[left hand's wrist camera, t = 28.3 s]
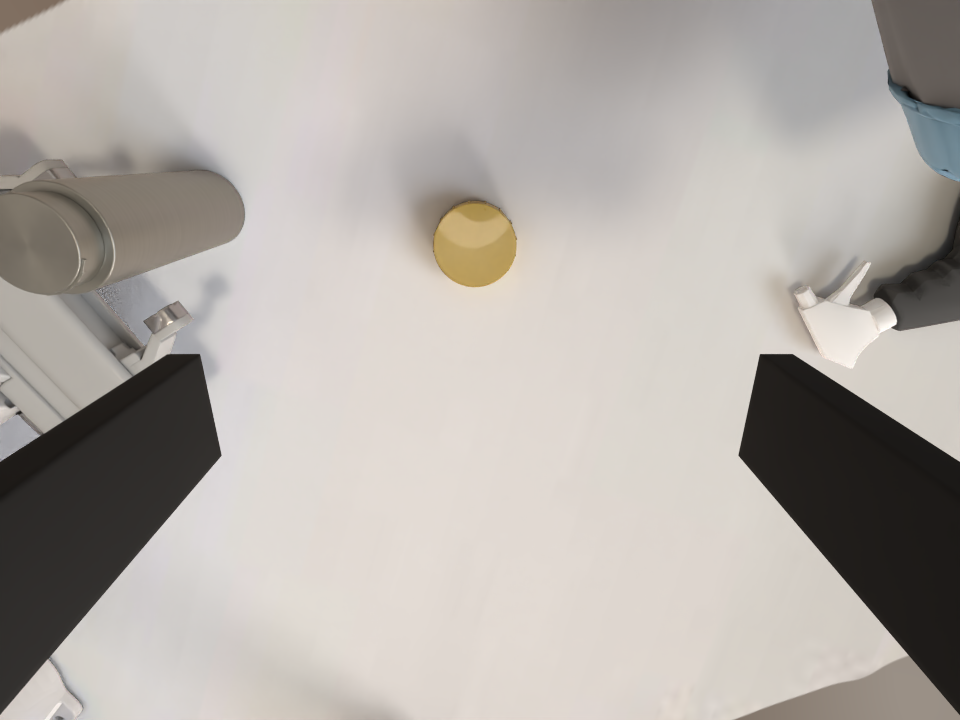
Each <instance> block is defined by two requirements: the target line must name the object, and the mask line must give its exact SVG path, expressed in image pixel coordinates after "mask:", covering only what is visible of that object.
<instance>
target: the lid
mask: <svg viewBox="0 0 960 720" xmlns="http://www.w3.org/2000/svg"><path fill="white" fill-rule="evenodd" d="M440 220H441V221H440V223H439V225H438V227H437V229H436V231H435V233H434V242H433V247H434V250H433V252H434V255H435V258H436V261H437V263H438V265H439V267H440V268H441V270H442V271H443V272H444V274H445V275H446V276H448V277H449V278H450V279H451V280H453V281H454V282H456V283H458V284H461V285H464V286H468V287H482V286H486V285H489V284H492V283H494V282H496V281H497V280H499V279H500V278H501V277H503V276H504V275H505V274H506V272H507V271H508V270H509V268H510V267H511V265H512V263H513V261H514V258H515V256H516V240H517V238H516V236H515V233H514V230H513V228H512V225H511V224H512V223H511V221H509V220H508V218H507V217H506V215H505V214H504V213H503V212H502V211H501V209H500V208H499V209H498V208H497V207H495V206H493V205H491V204H489V203H486V201H484V202H481V201H470V200H468V202H464V203H461V204H459V205H457V206H453V207H452V209H451V210H449V211H448V212H447V213H446V214H445V215H444V217H441V219H440Z"/></svg>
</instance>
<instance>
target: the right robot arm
mask: <svg viewBox="0 0 960 720" xmlns="http://www.w3.org/2000/svg"><path fill="white" fill-rule="evenodd" d="M65 178H77V177H76V176H75V175H74V174H73V172H72V171H71V170H70V169H69V168H68V167H67V165H66V164H65V163H64V162H63V160H44V161H41V162H39V163H37V164H35V165H34V166H33V167H31V168H30V169H29V170H27V171H26V172H25V173H24V174H22V175H0V195H1V194H5V193H7V192H9V191H11V190H12V189H14V188H15V187H17V186H18V185H20V184H22V183H25V182H29V181H34V180H49V179H65ZM193 320H194V319H193V318H192V316H191V315H190V314H189V313H188V312H187V311H186V309H185V308H184V307H183V306H182V305H181V303H180V302H179V301H176V302H175V303H173V304H170V305H168V306H166V307H165V308H163V309H161V310H160V311H158V312H157V313H156V314H154V315H152V316H151V317H149V318H148V319H146V320H145V321H143V322H144V323H145V324H146V325H147V326H148V328H149V329H150V330H151V331H152V332H153V333H152V334H151V336H150V339H149V342H148V344H147V345H146V346H144V345H143V344H142V343H141V342H140V340H139V339H138V338H137V337H136V336H135V335H134V334H133V333H132V331H131V330H130V329H129V328H128V327H127V326H126V325H125V323H124V322H123V321H122V320H121V319H120V318H119V317H118V316H117V314H116V313H115V312H114V311H113V310H112V309H111V308H110V306H109V305H108V304H107V303H106V302H105V301H104V300H103V299H102V297H101V296H100V295H99V294H98V293H97V292H96V291H95V290H94V291H91V292H88V293H83V294H64V293H63V294H60V295H50V296H47V295H41V294H34V293H31V292H27V291H24V290H21V289H19V288H17V287H15V286H13V285H11V284H10V283H8V282H7V281H5V280H4V279H3V278H1V277H0V425H1V424H3V423H4V422H6V421H7V420H9V419H10V418H12V417H13V416H15V415H17V414H18V415H19V416H20V417H21V418H22V419H23V420H24V421H25V422H26V423H27V424H28V425H29V426H30V427H31V428H32V429H33V430H34V431H35V432H37V433H38V434H39V435H43V434H44V433H46V432H47V431H49V430H51V429H52V428H54V427H55V426H57V425H58V424H60V423H61V422H63V421H64V420H66V419H68V418H69V417H71V416H72V415H74V414H75V413H77V412H78V411H80V410H82V409H83V408H85V407H86V406H88V405H89V404H91V403H92V402H94V401H96V400H97V399H99V398H100V397H102V396H103V395H105V394H106V393H108V392H109V391H111V390H113V389H114V388H116V387H117V386H119V385H120V384H122V383H123V382H125V381H127V380H128V379H130V378H131V377H133V376H134V375H136V374H137V373H139V372H140V371H142V370H144V369H145V368H147V367H148V366H150V365H151V364H153V363H154V362H156V361H158V360H159V359H161V358H162V357H164V356H165V355H167V354H170V353H171V350H172V347H173V344H174V341H175V338H176V335H177V333H176V332H177V331H178V330H180V329H181V328H183V327H184V326H186V325H187V324H189V323H190V322H192V321H193ZM82 709H83V708H82V705H81V704H80V702H79V701H78V700H77V699H76V698H75V697H74V696H73V695H72V694H71V693H70V692H69V691H67V689H66V688H65V686H64V684H63V682H62V679H61V677H60V675H59V673H58V671H57V669H56V668H55V667H54V665H53V664H52V663H51V662H50V660H49V659H48V660H47V661H46V662H45V663H44V664H43V665H42V667H41V668H40V669H39V670H38V671H37V672H36V674H35V675H34V676H33V677H32V678H31V679H30V681H29V682H28V683H27V684H26V685H25V687H24V688H23V689H22V690H21V691H20V692H19V694H18V695H17V696H16V697H15V698H14V699H13V701H12V702H11V703H10V704H9V705H8V706H7V708H6V709H5V710H4V711H3V712H2V713H1V715H0V720H75V719H76V718H77V716H78V715H79V714H80V713H81V712H82Z"/></svg>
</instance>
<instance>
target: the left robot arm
mask: <svg viewBox="0 0 960 720" xmlns="http://www.w3.org/2000/svg"><path fill="white" fill-rule="evenodd" d="M872 4H873V8H874V12H875V16H876V20H877V24H878V27H879V31H880V35H881V39H882V43H883V47H884V51H885V55H886V58H887V62H888V66H889V70H888V85H889V90H890V91H891V93H892V95H893V96H894V97H895V99H896V100H897V101H898V102H899V103H900V104H901V105H902V108H903V111H904V113H905V116H906V118H907V121H908V124H909V127H910V130H911V133H912V136H913V139H914V142H915V145H916V147H917V150H918V152H919V154H920V156H921V157H922V158H923V160H924V161H925V162H926V164H927V165H929V166H930V167H931V168H932V169H933V170H934V171H936V172H937V173H939V174H940V175H943V176H945V177H947V178H950V179H952V180H955V181H960V0H872ZM221 456H222V455H221V451H220V446H219V441H218V437H217V432H216V427H215V423H214V418H213V413H212V408H211V404H210V399H209V394H208V390H207V385H206V380H205V376H204V371H203V366H202V361H201V357H200V354H167V355H165V356H164V357H162V358H161V359H159V360H158V361H156V362H154V363H153V364H151V365H150V366H148V367H147V368H145V369H144V370H142V371H140V372H139V373H137V374H136V375H134V376H133V377H131V378H130V379H128V380H127V381H125V382H123V383H122V384H120V385H119V386H117V387H116V388H114V389H113V390H111V391H109V392H108V393H106V394H105V395H103V396H102V397H100V398H99V399H97V400H96V401H94V402H92V403H91V404H89V405H88V406H86V407H85V408H83V409H82V410H80V411H78V412H77V413H75V414H74V415H72V416H71V417H69V418H68V419H66V420H64V421H63V422H61V423H60V424H58V425H57V426H55V427H54V428H52V429H51V430H49V431H47V432H46V433H44V434H43V435H41V436H40V437H38V438H37V439H35V440H33V441H32V442H30V443H29V444H27V445H26V446H24V447H23V448H21V449H20V450H18V451H16V452H15V453H13V454H12V455H10V456H9V457H7V458H6V459H4V460H2V461H1V462H0V715H1V713H2V712H3V711H4V710H5V709H6V708H7V706H8V705H9V704H10V703H11V702H12V701H13V699H14V698H15V697H16V696H17V695H18V694H19V692H20V691H21V690H22V689H23V688H24V687H25V685H26V684H27V683H28V682H29V681H30V679H31V678H32V677H33V676H34V675H35V674H36V672H37V671H38V670H39V669H40V668H41V667H42V665H43V664H44V663H45V662H46V661H47V660H48V658H49V657H50V656H51V655H52V654H53V653H54V651H55V650H56V649H57V648H58V647H59V645H60V644H61V643H62V642H63V641H64V640H65V638H66V637H67V636H68V635H69V634H70V633H71V631H72V630H73V629H74V628H75V627H76V626H77V624H78V623H79V622H80V621H81V620H82V619H83V617H84V616H85V615H86V614H87V613H88V611H89V610H90V609H91V608H92V607H93V606H94V604H95V603H96V602H97V601H98V600H99V599H100V597H101V596H102V595H103V594H104V593H105V592H106V590H107V589H108V588H109V587H110V586H111V585H112V583H113V582H114V581H115V580H116V579H117V578H118V576H119V575H120V574H121V573H122V572H123V570H124V569H125V568H126V567H127V566H128V565H129V563H130V562H131V561H132V560H133V559H134V558H135V556H136V555H137V554H138V553H139V552H140V551H141V549H142V548H143V547H144V546H145V545H146V544H147V542H148V541H149V540H150V539H151V538H152V536H153V535H154V534H155V533H156V532H157V531H158V529H159V528H160V527H161V526H162V525H163V524H164V522H165V521H166V520H167V519H168V518H169V517H170V515H171V514H172V513H173V512H174V511H175V510H176V508H177V507H178V506H179V505H180V504H181V502H182V501H183V500H184V499H185V498H186V497H187V495H188V494H189V493H190V492H191V491H192V490H193V488H194V487H195V486H196V485H197V484H198V483H199V481H200V480H201V479H202V478H203V477H204V476H205V474H206V473H207V472H208V471H209V470H210V468H211V467H212V466H213V465H214V464H215V463H216V461H217V460H218V459H219V458H220V457H221ZM738 456H739V457H740V458H741V459H742V460H743V461H744V463H745V464H746V465H747V466H748V467H749V468H750V470H751V471H752V472H753V473H754V474H755V476H756V477H757V478H758V479H759V480H760V481H761V483H762V484H763V485H764V486H765V487H766V488H767V490H768V491H769V492H770V493H771V494H772V495H773V497H774V498H775V499H776V500H777V501H778V502H779V504H780V505H781V506H782V507H783V508H784V510H785V511H786V512H787V513H788V514H789V515H790V517H791V518H792V519H793V520H794V521H795V522H796V524H797V525H798V526H799V527H800V528H801V529H802V531H803V532H804V533H805V534H806V535H807V536H808V538H809V539H810V540H811V541H812V542H813V544H814V545H815V546H816V547H817V548H818V549H819V551H820V552H821V553H822V554H823V555H824V556H825V558H826V559H827V560H828V561H829V562H830V563H831V565H832V566H833V567H834V568H835V569H836V570H837V572H838V573H839V574H840V575H841V576H842V578H843V579H844V580H845V581H846V582H847V583H848V585H849V586H850V587H851V588H852V589H853V590H854V592H855V593H856V594H857V595H858V596H859V597H860V599H861V600H862V601H863V602H864V603H865V604H866V606H867V607H868V608H869V609H870V610H871V611H872V613H873V614H874V615H875V616H876V617H877V619H878V620H879V621H880V622H881V623H882V624H883V626H884V627H885V628H886V629H887V630H888V631H889V633H890V634H891V635H892V636H893V637H894V638H895V640H896V641H897V642H898V643H899V644H900V645H901V647H902V648H903V649H904V650H905V651H906V653H907V654H908V655H909V656H910V657H911V658H912V660H913V661H914V662H915V663H916V664H917V665H918V667H919V668H920V669H921V670H922V671H923V672H924V674H925V675H926V676H927V677H928V678H929V679H930V681H931V682H932V683H933V684H934V685H935V687H936V688H937V689H938V690H939V691H940V692H941V694H942V695H943V696H944V697H945V698H946V699H947V701H948V702H949V703H950V704H951V705H952V706H953V708H954V709H955V710H956V711H957V712H958V713H959V715H960V462H959V461H958V460H956V459H954V458H953V457H951V456H950V455H948V454H947V453H945V452H944V451H942V450H940V449H939V448H937V447H936V446H934V445H933V444H931V443H930V442H928V441H927V440H925V439H923V438H922V437H920V436H919V435H917V434H916V433H914V432H913V431H911V430H909V429H908V428H906V427H905V426H903V425H902V424H900V423H899V422H897V421H896V420H894V419H892V418H891V417H889V416H888V415H886V414H885V413H883V412H882V411H880V410H878V409H877V408H875V407H874V406H872V405H871V404H869V403H868V402H866V401H864V400H863V399H861V398H860V397H858V396H857V395H855V394H854V393H852V392H851V391H849V390H847V389H846V388H844V387H843V386H841V385H840V384H838V383H837V382H835V381H833V380H832V379H830V378H829V377H827V376H826V375H824V374H823V373H821V372H820V371H818V370H816V369H815V368H813V367H812V366H810V365H809V364H807V363H806V362H804V361H802V360H801V359H799V358H798V357H796V356H795V355H793V354H760V357H759V361H758V366H757V371H756V376H755V380H754V385H753V390H752V394H751V399H750V404H749V408H748V413H747V418H746V423H745V427H744V432H743V437H742V441H741V446H740V451H739V455H738Z"/></svg>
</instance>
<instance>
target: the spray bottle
mask: <svg viewBox="0 0 960 720" xmlns="http://www.w3.org/2000/svg"><path fill="white" fill-rule="evenodd" d="M870 264H871V263H869V262H866V261H863V262H862V264H861V265H860V266H859V267H858V268H857V269H856V270H855V271H854V272H853V274H852V275H851V276H850V277H849V278H848V279H847V280H846V281H845V282H844V284H843V285H842V286H841V287H840V288H839V289H838V290H836V291H835V292H834V293H832V294H831V295H830V296H829V297H827V298H826V299H824V298H821V297H816V296H815V295H814V293H813V292H812V290H811V289H810V287H809V286H802V287H800V288H798V289H796V290H795V292H794V294H795V296H796V298H797V301H798V303H799V305H800V306H799V307H798V310H799V312H800V314H801V316H802V318H803V320H804V322H805V324H806V326H807V328H808V330H809V332H810V334H811V336H812V338H813V340H814V342H815V344H816V346H817V348H818V350H819V352H820V354H821V356H822V357H824V358H826V359H828V360H831V361H833V362H836V363H838V364H841V365H843V366H846V367H848V368H851V369H852V368H853V367H854V364H855V362H856V360H857V357H858V355H859V354H860V353H861V352H862V351H863V349H864V348H865V347H866V346H867V345H868V344H870V343H871V342H872V341H873V340H875V339H876V338H877V337H879V333H881V332H883V331H885V330H887V329H889V328H893V329H895V330H898V331H903V330H908V329H914V328H920V327H925V326H931V325H936V324H942V323H947V322H953V321H958V320H960V219H959V222H958V226H957V229H956V234H955V239H954V244H953V249H952V251H951V252H950V253H949V254H948V255H947V256H946V257H945V258H944V259H942V260H938V261H935V262H934V263H933V264H932V265H931V266H930V267H929V268H928V269H926V270H922V271H918V272H914V273H911V274H910V275H909V276H908V277H907V278H906V279H905V280H904V281H903V282H901V283H900V284H882V285H881V286H880V287H879V288H878V290H877V291H876V293H875V294H874V299H873V300H871V301H869V302H867V303H866V304H864V305H862V306H858V305H854V304H849V302H850V298H851V296H852V294H853V293H854V291H855V290H856V288H857V287H858V285H859V284H860V282H861V280H862V279H863V277H864V276H865V274H866V272H867V270H868V268H869V266H870Z"/></svg>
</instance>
